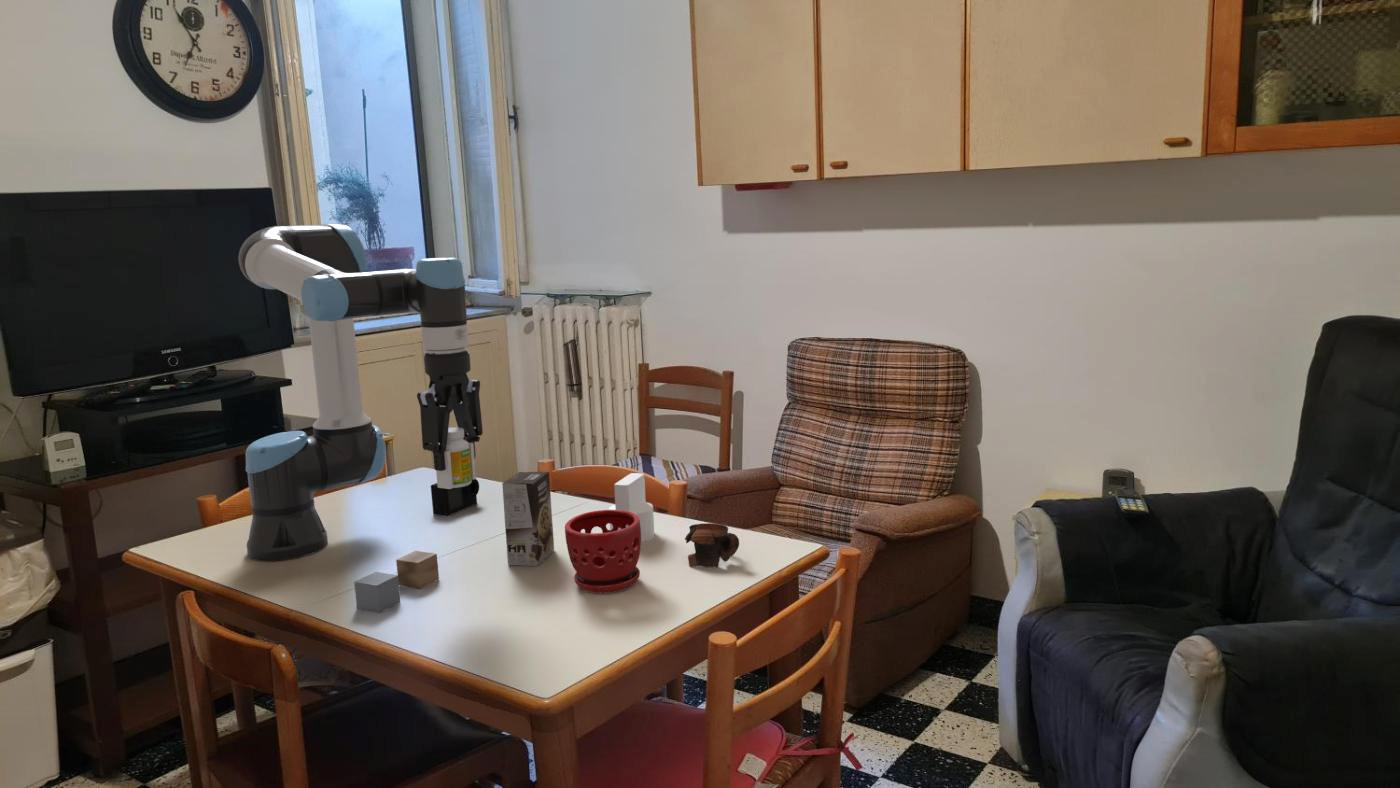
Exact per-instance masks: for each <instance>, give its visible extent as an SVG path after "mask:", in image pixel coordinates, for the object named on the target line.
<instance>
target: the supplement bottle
mask: <svg viewBox="0 0 1400 788" xmlns="http://www.w3.org/2000/svg"><path fill="white" fill-rule="evenodd" d="M463 438H464V429H463V428H459V427H458V426H455V427H448V437H447V446H446V451H450V457H451V469H452V481H453V488H459V487H464V486H467V485H469V484H470V483H471V482H472V477H471V463H470V449H469V443H468V442H467V441H466V440H463ZM439 444H440V443H439Z"/></svg>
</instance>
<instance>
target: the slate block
mask: <svg viewBox="0 0 1400 788" xmlns="http://www.w3.org/2000/svg"><path fill="white" fill-rule="evenodd" d="M353 583H354V584H353V585H354V591H355V592H354V593H355V602H356V609H357V610H359V611H364V612H365V611H366V612H371V613H374V614H381V613H382V612H385V611H386V610H389V609H390V608H392V607H395V606H396V605H398V604H400V603H401V595H400V586H399V582H398V574H392V573H386V572H379V571H374V572H372V573H369V574H368V575H366V576H363V577H362V578H361V577H360V578H358V579H356V580H355V581H353Z"/></svg>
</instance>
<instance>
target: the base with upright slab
mask: <svg viewBox="0 0 1400 788" xmlns="http://www.w3.org/2000/svg"><path fill="white" fill-rule="evenodd" d="M613 486H614V488H613V489H614V504H612V505H611V506H609V508H608V510H623V511H628V512H632V513H634V514H636V515H637V516H638V517H639V520H640V527H641V543H643V541H644V542H646V541H650V540H651V539H653V538H654V537H655V523H654V521H655V519H654V505H653V503H650V502H647V501H646V484H645V474H644V473H637V472H636V473H635V472H634V473H633V472H630V473H629V474H627V475H626V476H624V477H623V478H622V479H620V480H618V481H617V482H616V483H614V484H613ZM626 527H628V525H626ZM612 529H613V525H612V524H610V523H609V530H612ZM618 530H621V528H618ZM633 543H634V542H633Z"/></svg>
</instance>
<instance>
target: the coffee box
mask: <svg viewBox="0 0 1400 788" xmlns="http://www.w3.org/2000/svg"><path fill="white" fill-rule="evenodd" d="M551 496H552V495H551V481H550V472H549V471H519V472H518V473H516V474H515V475H513V476H512V477H510V478H508V479H507V480H506V481H504V482H502V497H503V510H504V511H503V512H504V513H503V514H504V525H505V526H504V528H505V540H506V541H505V542H506V557H507V565H508V566H526V567H527V566H528V567H538V566H539V565H541V564H542V562H544V560H546V559H547V558H548V557H549V556H550V555H551V554H552V553H553V552H554V551H555V542H554V541H555V539H554V528H553V527H554V526H553V512H552V510H553V509H552V498H551Z"/></svg>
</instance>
